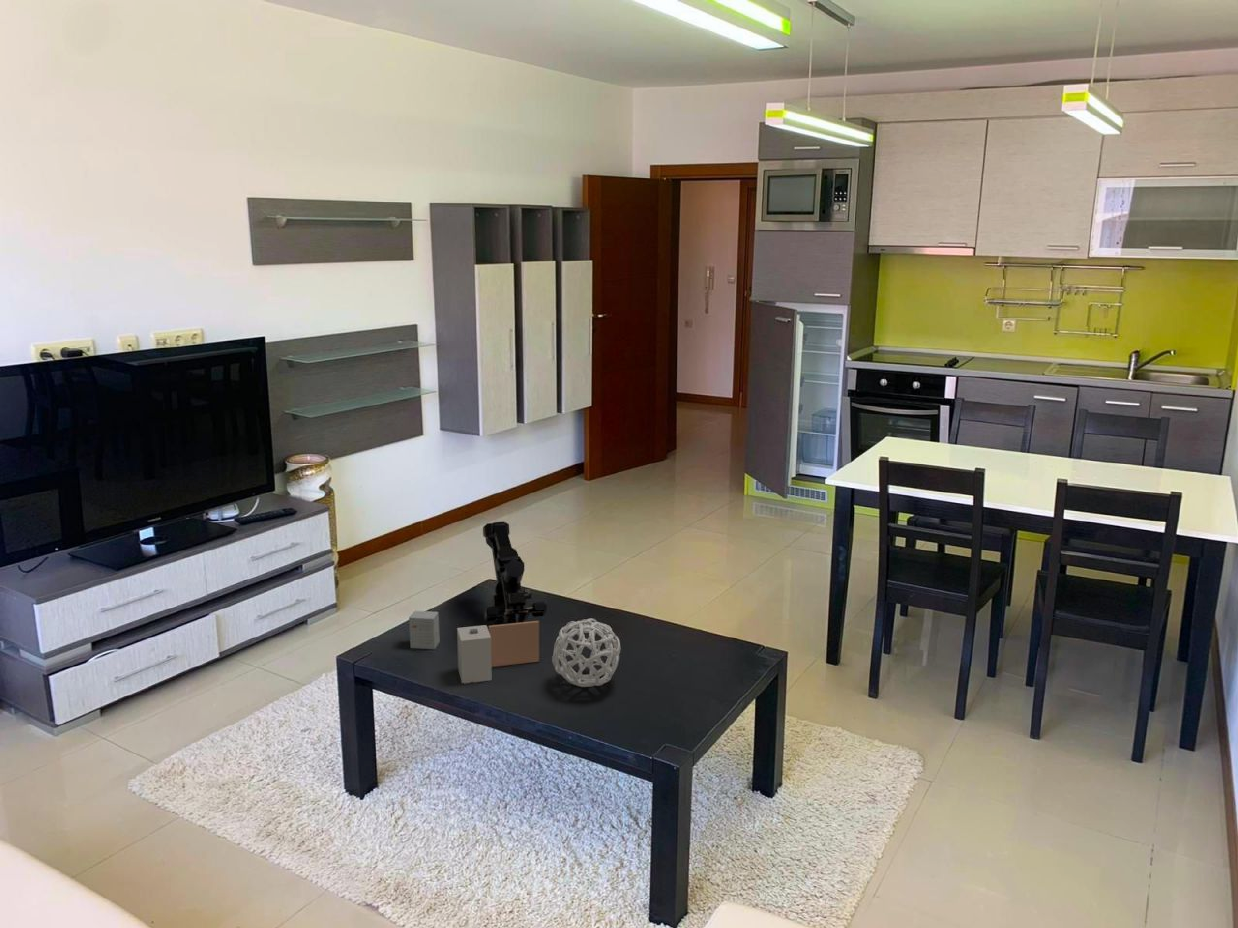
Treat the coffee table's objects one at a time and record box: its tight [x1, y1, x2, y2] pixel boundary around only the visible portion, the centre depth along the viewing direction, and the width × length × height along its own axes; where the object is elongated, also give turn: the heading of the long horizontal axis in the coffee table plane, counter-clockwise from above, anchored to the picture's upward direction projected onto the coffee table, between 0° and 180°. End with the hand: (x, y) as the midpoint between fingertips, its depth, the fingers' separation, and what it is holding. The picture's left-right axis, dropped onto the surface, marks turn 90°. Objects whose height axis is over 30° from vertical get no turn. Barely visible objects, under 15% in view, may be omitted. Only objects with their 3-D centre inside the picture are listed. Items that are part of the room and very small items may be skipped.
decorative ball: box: [551, 617, 622, 688], centre depth 265 cm, size 20×20×19 cm
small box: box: [408, 610, 441, 650], centre depth 290 cm, size 8×6×10 cm
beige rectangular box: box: [456, 624, 493, 684], centre depth 271 cm, size 10×9×14 cm
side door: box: [488, 620, 540, 668], centre depth 278 cm, size 1×15×13 cm, turn 107°
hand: (519, 637), depth 280 cm, fingers closed
